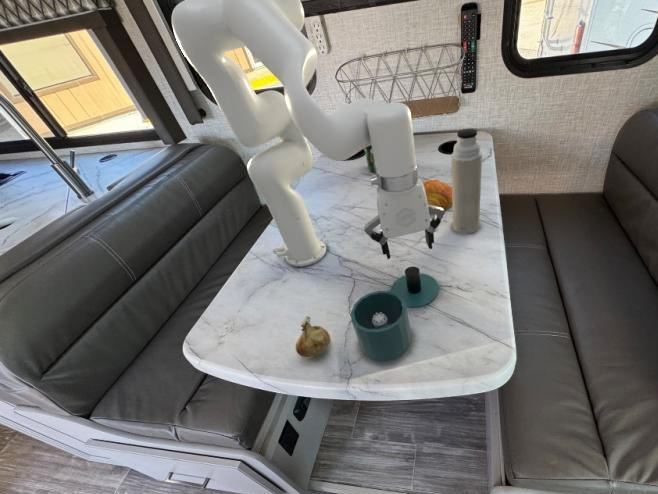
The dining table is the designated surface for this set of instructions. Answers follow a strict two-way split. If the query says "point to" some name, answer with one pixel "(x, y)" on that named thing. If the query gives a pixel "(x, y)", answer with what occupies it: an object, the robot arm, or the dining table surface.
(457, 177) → the thermos bottle
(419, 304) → the canister lid
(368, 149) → the coffee jar
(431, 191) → the croissant
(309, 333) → the onion
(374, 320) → the rook chess piece
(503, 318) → the dining table surface
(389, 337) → the canister
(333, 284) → the dining table surface
